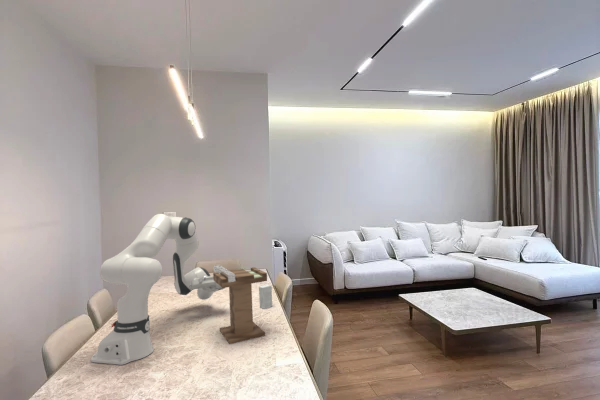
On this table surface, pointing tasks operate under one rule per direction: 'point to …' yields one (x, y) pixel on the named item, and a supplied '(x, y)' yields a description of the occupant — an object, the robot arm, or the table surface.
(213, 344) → the table surface
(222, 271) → the aluminium bar
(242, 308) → the walnut pedestal
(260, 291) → the skincare box
